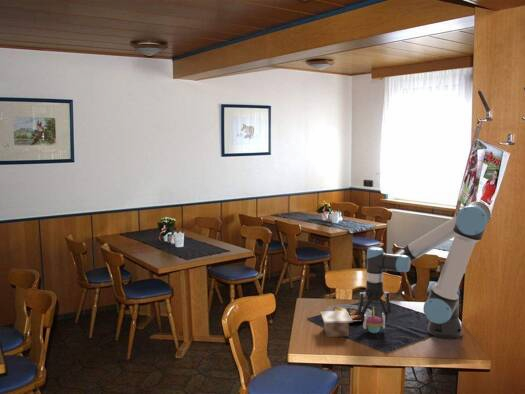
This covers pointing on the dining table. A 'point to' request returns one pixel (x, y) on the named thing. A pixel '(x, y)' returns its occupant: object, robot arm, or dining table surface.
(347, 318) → the white box
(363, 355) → the dining table surface
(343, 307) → the food plate
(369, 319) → the cupcake
